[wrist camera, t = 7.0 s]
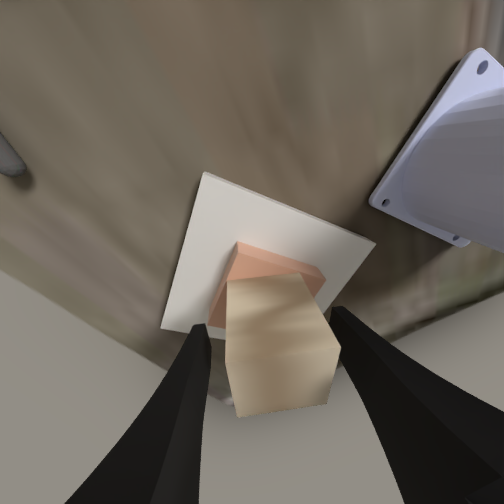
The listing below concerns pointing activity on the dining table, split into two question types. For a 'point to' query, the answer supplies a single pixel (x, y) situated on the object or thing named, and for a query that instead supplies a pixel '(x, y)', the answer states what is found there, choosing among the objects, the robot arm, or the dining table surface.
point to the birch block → (277, 345)
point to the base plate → (258, 229)
